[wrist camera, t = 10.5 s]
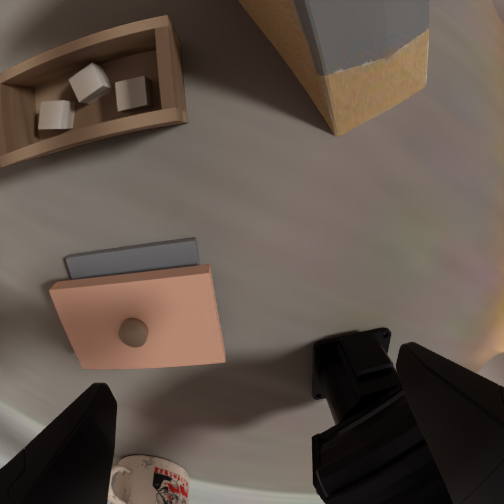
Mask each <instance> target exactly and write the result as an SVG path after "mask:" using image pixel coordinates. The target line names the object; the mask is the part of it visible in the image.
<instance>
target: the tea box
mask: <svg viewBox="0 0 504 504" xmlns="http://www.w3.org/2000/svg"><path fill="white" fill-rule="evenodd" d="M183 123H188V118H187V109H186V100H185V91H184V81H183V70H182V59H181V48H180V39H179V37H178V35H177V33H176V31H175V29H174V27H173V25H172V23H171V21H170V19H169V17H168V15H164V16H159V17H154V18H149V19H145V20H140V21H136V22H132V23H128V24H124V25H121V26H117V27H114V28H110V29H107V30H103V31H100V32H97V33H94V34H91V35H88V36H85V37H82V38H79V39H76V40H73V41H71V42H68V43H65V44H63V45H60V46H58V47H55V48H53V49H50V50H48V51H46V52H43V53H41V54H39V55H37V56H34V57H32V58H30V59H28V60H26V61H24V62H22V63H20V64H18V65H16V66H14V67H12V68H10V69H8V70H6V71H4V72H2V73H0V166H1V168H2V167H5V166H9V165H12V164H16V163H19V162H23V161H27V160H31V159H35V158H39V157H43V156H46V155H49V154H52V153H55V152H59V151H62V150H66V149H69V148H73V147H76V146H80V145H84V144H87V143H91V142H95V141H99V140H103V139H107V138H111V137H116V136H120V135H125V134H129V133H134V132H139V131H144V130H149V129H154V128H160V127H165V126H171V125H177V124H183Z"/></svg>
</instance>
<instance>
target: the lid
mask: <svg viewBox="0 0 504 504" xmlns="http://www.w3.org/2000/svg"><path fill="white" fill-rule="evenodd" d="M49 292H50V295H51V298H52V300H53V303H54V305H55V308H56V310H57V313H58V315H59V318H60V320H61V323H62V325H63V327H64V330H65V332H66V334H67V336H68V339H69V341H70V343H71V345H72V347H73V349H74V351H75V354H76V356H77V358H78V360H79V362H80V364H81V366H82V368H83V369H138V368H161V367H178V366H191V365H203V364H214V363H224V362H225V348H224V343H223V337H222V332H221V326H220V321H219V315H218V309H217V304H216V298H215V292H214V286H213V280H212V274H211V268H210V264H206V265H198V266H190V267H181V268H173V269H164V270H156V271H147V272H138V273H130V274H121V275H112V276H103V277H95V278H86V279H77V280H68V281H59V282H56V283H55V284H54V285H53V286H52V287H51V288H50V289H49Z"/></svg>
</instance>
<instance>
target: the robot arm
mask: <svg viewBox="0 0 504 504" xmlns="http://www.w3.org/2000/svg"><path fill="white" fill-rule="evenodd" d="M385 333H386V334H385ZM384 334H385V335H384ZM390 338H391V332H390V330H389V329H388V328H382V329H378V330H373V331H369V332H364V333H359V334H355V335H350V336H345V337H340V338H334V339H329V340H324V341H319V342H317V343H315V345H314V347H313V380H312V396H313V398H314V399H316V400H318V399H323V398H326V399H327V402H328V405H329V408H330V410H331V413H332V416H333V419H334V422H335V424H336V425H335V426H333V427H331V428H330V429H328V430H326V431H324V432H322V433H321V434H319V433H318V434H316V435H315V436H313V437H312V464H313V485H314V487H315V488H316V492H317V494H318V495H319V496H320V497H321V499H322V500H323V501H324V503H325V504H504V387H503V386H500V385H498V384H496V383H494V382H492V381H490V380H488V379H486V378H484V377H482V376H480V375H478V374H476V373H474V372H472V371H470V370H468V369H466V368H464V367H462V366H460V365H458V364H456V363H454V362H452V361H450V360H448V359H446V358H444V357H443V356H441V355H439V354H437V353H435V352H433V351H431V350H429V349H427V348H425V347H423V346H421V345H419V344H417V343H415V342H409V343H406V344H403V345H401V347H400V349H399V354H398V358H397V362H396V369H395V368H394V366H393V363H392V361H391V360H390V358H389V356H388V355H387V353H388V348H389V343H390ZM319 347H322V348H320V349H318V348H319ZM396 370H397V371H396ZM317 394H318V395H317ZM116 416H117V402H116V400H115V398H114V396H113V394H112V392H111V390H110V388H109V386H108V385H107V384H106V383H93V384H92V385H91V386H90V387H89V388H88V389H86V390H85V391H84V392H83V393H82V394H81V395H80V396H79V397H78V398H77V399H76V400H75V401H74V402H73V403H71V404H70V405H69V406H68V407H67V408H66V409H65V410H64V411H63V412H62V413H61V414H60V415H59V416H58V417H56V418H55V419H54V420H53V421H52V422H51V423H50V424H49V425H48V426H47V427H46V428H45V429H44V430H43V431H42V432H40V433H39V434H38V435H37V436H36V437H35V438H34V439H33V440H32V441H31V442H30V443H29V444H28V445H27V446H26V447H25V449H22V450H21V451H20V452H19V453H18V454H17V455H16V456H15V457H14V458H13V459H12V460H10V461H9V462H8V463H7V464H6V465H5V466H3V467H2V468H1V469H0V504H107V501H108V492H109V484H110V477H111V470H112V463H113V456H114V449H115V433H116Z"/></svg>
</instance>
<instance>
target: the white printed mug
mask: <svg viewBox="0 0 504 504" xmlns="http://www.w3.org/2000/svg"><path fill="white" fill-rule="evenodd" d="M116 472H117V473H116ZM115 473H116V478H115V483H114V489H113V490H112V485H111V484H112V478H113V476H114V474H115ZM188 491H189V476H188V473H187V472H186V471H185V470H184V469H183V468H182V467H181V466H179V465H177V464H175V463H173V462H171V461H168V460H166V459H162V458H158V457H153V456H146V455H133V456H128V457H125V458H123V459H121V460H120V461H119V463H118V465H113V466H112V470H111V477H110V484H109V492H108V500H109V501H110V502H111V504H188Z"/></svg>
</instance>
